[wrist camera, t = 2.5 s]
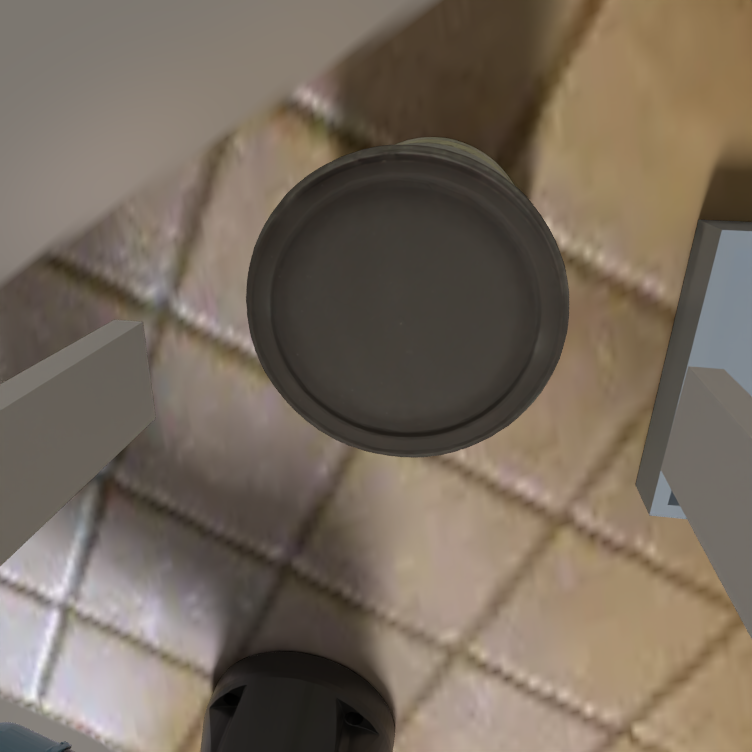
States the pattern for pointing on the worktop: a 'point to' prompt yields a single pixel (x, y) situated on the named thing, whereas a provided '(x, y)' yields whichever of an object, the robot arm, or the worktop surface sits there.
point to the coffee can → (408, 298)
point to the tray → (702, 341)
